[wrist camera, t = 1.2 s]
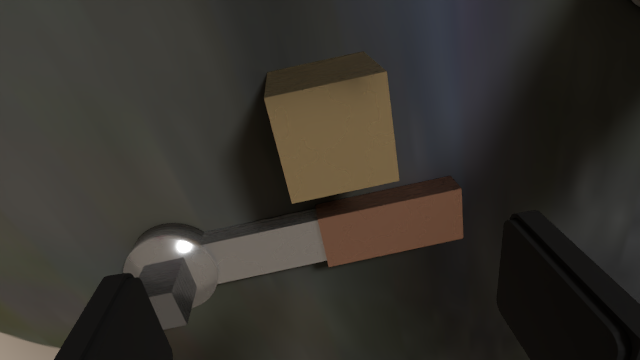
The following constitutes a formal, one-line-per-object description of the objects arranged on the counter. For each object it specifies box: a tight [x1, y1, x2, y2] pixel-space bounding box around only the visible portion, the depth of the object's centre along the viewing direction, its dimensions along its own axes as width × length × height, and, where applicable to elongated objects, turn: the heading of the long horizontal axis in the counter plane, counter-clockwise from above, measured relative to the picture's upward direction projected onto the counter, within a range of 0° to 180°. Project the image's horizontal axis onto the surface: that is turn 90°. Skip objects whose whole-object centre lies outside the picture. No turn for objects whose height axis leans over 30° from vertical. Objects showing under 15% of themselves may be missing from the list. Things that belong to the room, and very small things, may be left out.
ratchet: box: [123, 176, 463, 330], centre depth 27 cm, size 24×6×6 cm, turn 101°
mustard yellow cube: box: [264, 52, 399, 204], centre depth 23 cm, size 6×6×6 cm
